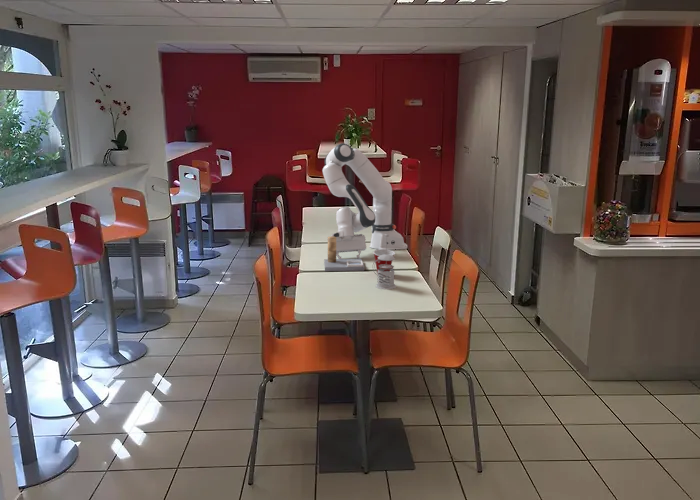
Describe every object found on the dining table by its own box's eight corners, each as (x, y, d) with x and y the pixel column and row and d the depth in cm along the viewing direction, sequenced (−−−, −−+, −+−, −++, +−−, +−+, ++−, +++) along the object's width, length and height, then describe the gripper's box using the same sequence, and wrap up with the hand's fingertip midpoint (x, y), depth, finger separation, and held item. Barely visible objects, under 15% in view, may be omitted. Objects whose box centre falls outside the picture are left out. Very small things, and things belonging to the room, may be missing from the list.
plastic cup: (379, 279, 284) (380, 255, 281) (368, 273, 293) (369, 250, 290) (398, 276, 289) (399, 252, 286) (387, 271, 298) (387, 248, 295)
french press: (390, 290, 266) (391, 237, 260) (368, 286, 272) (368, 234, 266) (399, 285, 274) (401, 233, 268) (378, 281, 280) (379, 230, 274)
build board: (361, 262, 314) (361, 257, 313) (364, 270, 299) (364, 264, 298) (324, 262, 313) (324, 257, 312) (324, 271, 297) (324, 265, 297)
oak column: (336, 260, 311) (336, 236, 307) (336, 262, 306) (336, 238, 303) (327, 260, 310) (327, 236, 307) (327, 262, 306) (327, 238, 303)
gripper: (363, 235, 327) (367, 259, 323) (327, 238, 324) (330, 262, 320) (365, 231, 321) (368, 256, 317) (328, 234, 318) (331, 259, 314)
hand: (349, 259), depth 319 cm, fingers open, 8 cm apart
